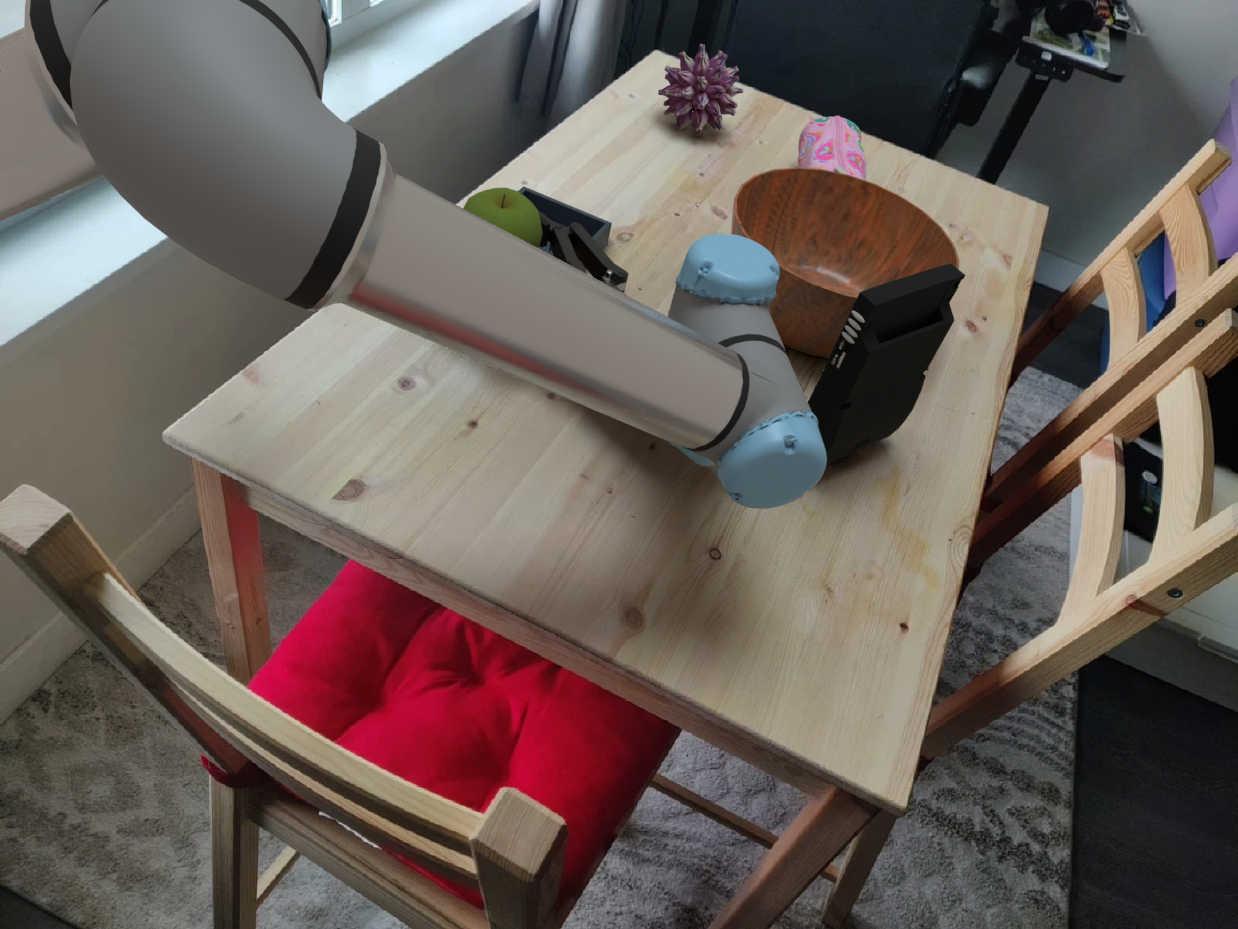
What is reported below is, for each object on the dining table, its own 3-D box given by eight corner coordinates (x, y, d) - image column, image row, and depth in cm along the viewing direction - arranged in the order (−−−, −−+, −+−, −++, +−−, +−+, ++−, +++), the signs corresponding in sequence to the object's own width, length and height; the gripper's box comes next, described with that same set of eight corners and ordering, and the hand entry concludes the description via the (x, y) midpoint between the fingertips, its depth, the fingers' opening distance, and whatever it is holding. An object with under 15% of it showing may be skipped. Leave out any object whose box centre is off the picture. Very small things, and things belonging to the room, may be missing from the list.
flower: (659, 114, 137) (739, 115, 136) (655, 149, 128) (741, 150, 127) (660, 33, 129) (745, 33, 128) (656, 64, 120) (747, 65, 119)
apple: (469, 257, 100) (476, 161, 92) (542, 278, 100) (556, 184, 92) (441, 301, 94) (446, 203, 86) (520, 324, 94) (532, 227, 86)
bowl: (883, 263, 116) (921, 183, 108) (942, 398, 99) (992, 315, 91) (694, 239, 112) (718, 153, 104) (721, 376, 95) (753, 286, 87)
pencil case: (860, 259, 116) (888, 197, 109) (791, 244, 115) (815, 180, 109) (850, 177, 131) (874, 117, 124) (788, 162, 130) (809, 102, 124)
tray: (514, 344, 92) (517, 322, 90) (415, 300, 94) (416, 277, 92) (607, 243, 108) (612, 222, 106) (521, 207, 110) (523, 185, 108)
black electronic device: (861, 419, 94) (946, 258, 80) (892, 449, 92) (985, 289, 78) (777, 455, 88) (853, 288, 74) (808, 487, 86) (892, 321, 72)
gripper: (520, 409, 81) (381, 273, 91) (685, 333, 93) (547, 220, 103) (530, 344, 76) (381, 207, 85) (703, 273, 88) (556, 159, 97)
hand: (471, 214), depth 94 cm, fingers closed on apple, 9 cm apart
